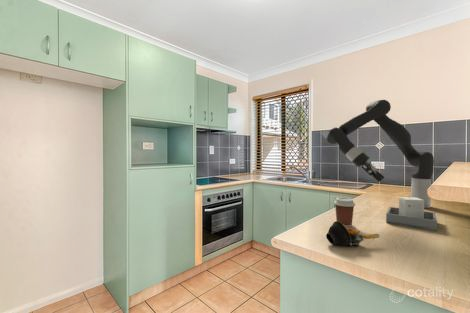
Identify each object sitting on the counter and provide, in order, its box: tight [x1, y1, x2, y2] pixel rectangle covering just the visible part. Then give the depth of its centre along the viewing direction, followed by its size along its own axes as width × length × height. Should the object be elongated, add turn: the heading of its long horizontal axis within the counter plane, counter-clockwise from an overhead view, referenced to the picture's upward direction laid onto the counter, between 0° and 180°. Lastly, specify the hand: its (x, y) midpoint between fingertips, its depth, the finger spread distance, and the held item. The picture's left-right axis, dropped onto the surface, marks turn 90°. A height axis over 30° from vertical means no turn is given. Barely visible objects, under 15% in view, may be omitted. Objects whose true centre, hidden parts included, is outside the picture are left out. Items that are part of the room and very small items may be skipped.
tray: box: [385, 206, 438, 232], centre depth 108 cm, size 16×18×4 cm
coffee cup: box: [333, 197, 356, 228], centre depth 105 cm, size 9×9×12 cm
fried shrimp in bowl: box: [325, 220, 380, 247], centre depth 84 cm, size 9×11×18 cm
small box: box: [398, 196, 425, 218], centre depth 108 cm, size 8×6×10 cm
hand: (381, 179), depth 114 cm, fingers open, 8 cm apart
